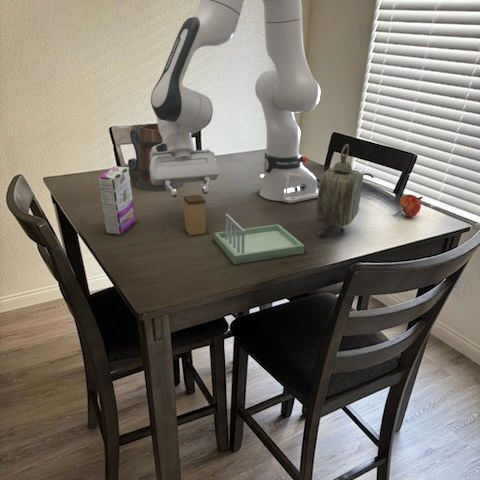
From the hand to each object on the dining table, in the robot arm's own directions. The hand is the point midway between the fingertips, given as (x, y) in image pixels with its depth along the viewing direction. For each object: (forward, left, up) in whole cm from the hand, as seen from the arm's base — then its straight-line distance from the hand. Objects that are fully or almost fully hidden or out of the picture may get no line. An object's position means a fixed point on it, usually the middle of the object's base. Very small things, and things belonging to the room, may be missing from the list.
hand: (190, 194), depth 138 cm
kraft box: (0, +3, -10) cm, 10 cm away
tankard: (+1, -48, -10) cm, 49 cm away
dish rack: (-13, +19, -10) cm, 25 cm away
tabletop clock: (-39, +17, -10) cm, 44 cm away
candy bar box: (+20, -7, -10) cm, 23 cm away
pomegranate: (-68, +13, -10) cm, 70 cm away
